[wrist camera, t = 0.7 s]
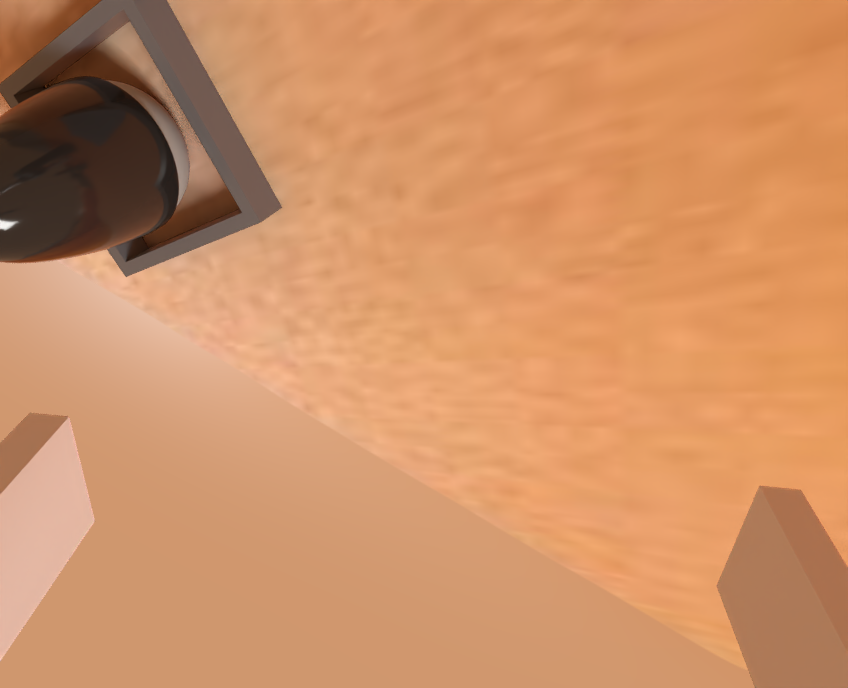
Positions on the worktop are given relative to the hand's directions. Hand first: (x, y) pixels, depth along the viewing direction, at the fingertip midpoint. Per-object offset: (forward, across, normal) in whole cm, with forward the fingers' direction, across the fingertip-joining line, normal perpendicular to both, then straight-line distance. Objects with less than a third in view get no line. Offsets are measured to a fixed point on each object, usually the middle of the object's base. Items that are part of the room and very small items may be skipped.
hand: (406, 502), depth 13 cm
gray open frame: (+36, -21, -3) cm, 42 cm away
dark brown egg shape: (+36, -21, -3) cm, 42 cm away
